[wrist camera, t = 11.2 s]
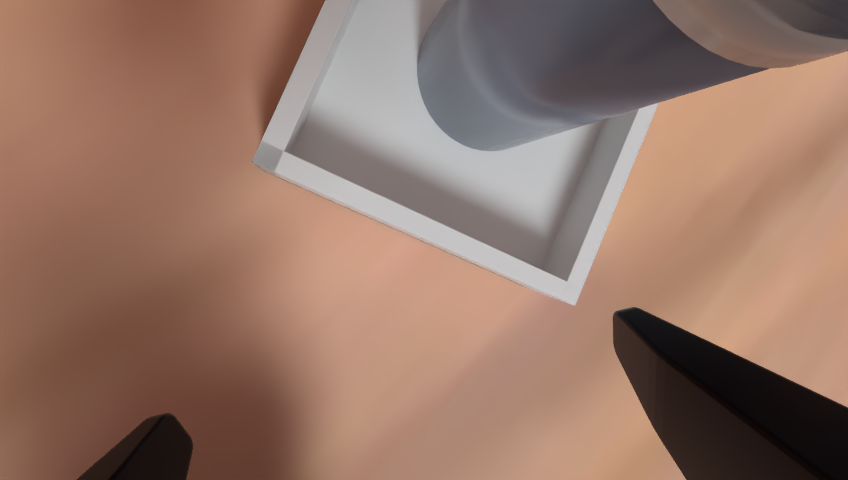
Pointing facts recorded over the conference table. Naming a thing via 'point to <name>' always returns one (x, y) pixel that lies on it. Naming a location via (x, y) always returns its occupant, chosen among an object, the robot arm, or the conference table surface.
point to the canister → (602, 58)
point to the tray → (442, 155)
